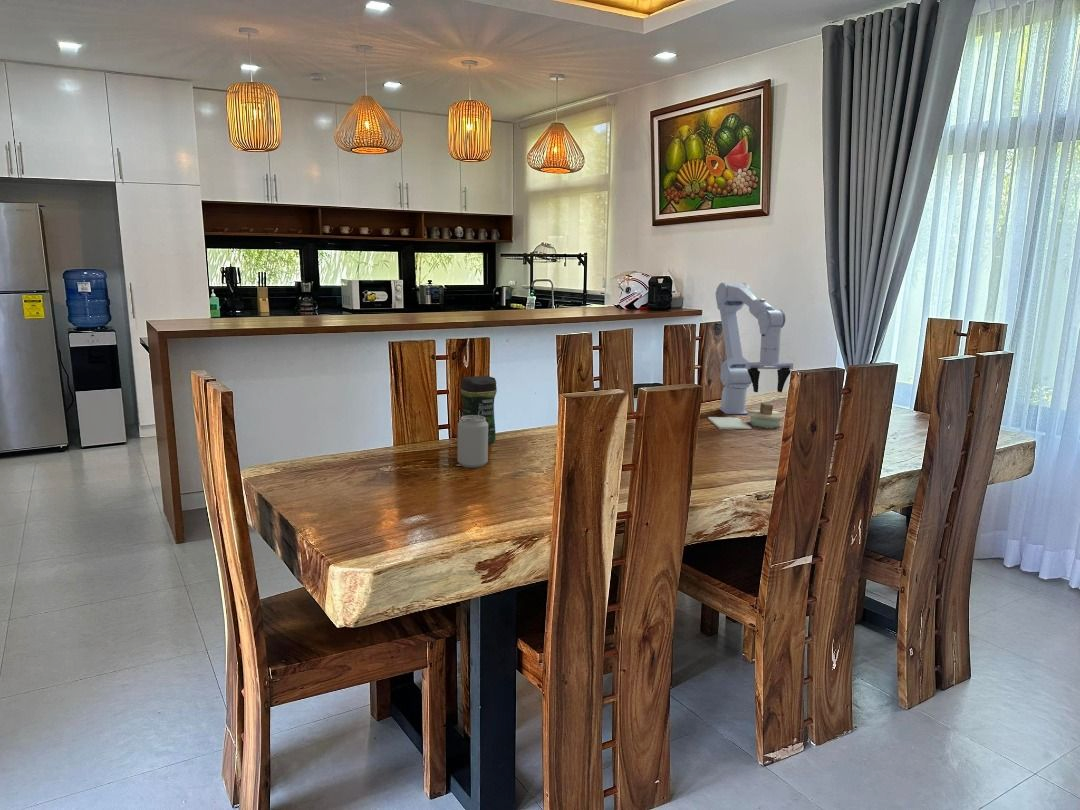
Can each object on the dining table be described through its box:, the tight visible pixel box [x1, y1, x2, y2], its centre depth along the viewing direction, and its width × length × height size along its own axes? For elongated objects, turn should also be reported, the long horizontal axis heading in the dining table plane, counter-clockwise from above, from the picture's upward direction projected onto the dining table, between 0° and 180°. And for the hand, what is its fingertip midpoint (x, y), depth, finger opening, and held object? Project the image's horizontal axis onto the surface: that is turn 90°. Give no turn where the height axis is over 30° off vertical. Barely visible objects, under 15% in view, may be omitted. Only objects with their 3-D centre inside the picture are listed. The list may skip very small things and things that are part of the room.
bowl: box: [749, 416, 781, 428], centre depth 233 cm, size 9×9×3 cm
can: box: [457, 415, 489, 469], centre depth 181 cm, size 8×8×12 cm
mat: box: [707, 416, 753, 430], centre depth 232 cm, size 14×10×1 cm
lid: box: [747, 402, 785, 420], centre depth 232 cm, size 11×11×4 cm
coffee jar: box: [460, 375, 498, 445], centre depth 200 cm, size 10×8×19 cm
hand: (767, 392), depth 231 cm, fingers open, 7 cm apart
